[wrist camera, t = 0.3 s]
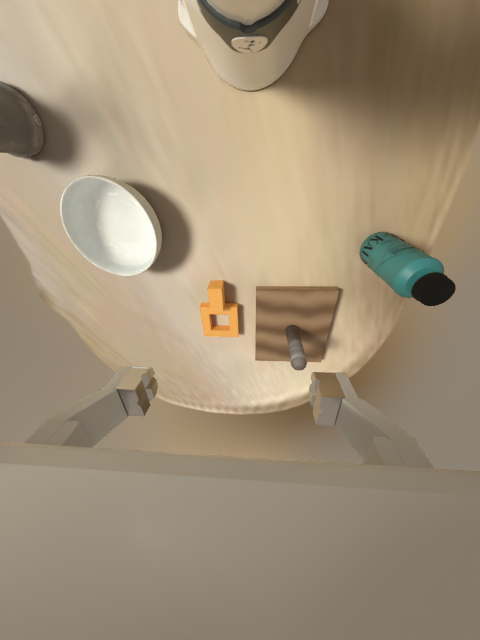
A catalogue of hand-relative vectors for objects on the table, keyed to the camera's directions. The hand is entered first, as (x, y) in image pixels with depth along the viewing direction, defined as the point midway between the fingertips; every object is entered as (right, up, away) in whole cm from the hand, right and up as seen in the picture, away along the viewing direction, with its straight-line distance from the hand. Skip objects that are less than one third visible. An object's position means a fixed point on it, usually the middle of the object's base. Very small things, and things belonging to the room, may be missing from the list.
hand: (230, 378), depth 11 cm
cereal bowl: (-22, +23, +33) cm, 46 cm away
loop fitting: (-5, +6, +43) cm, 44 cm away
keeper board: (+14, +2, +45) cm, 47 cm away
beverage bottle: (+27, +18, +33) cm, 46 cm away
